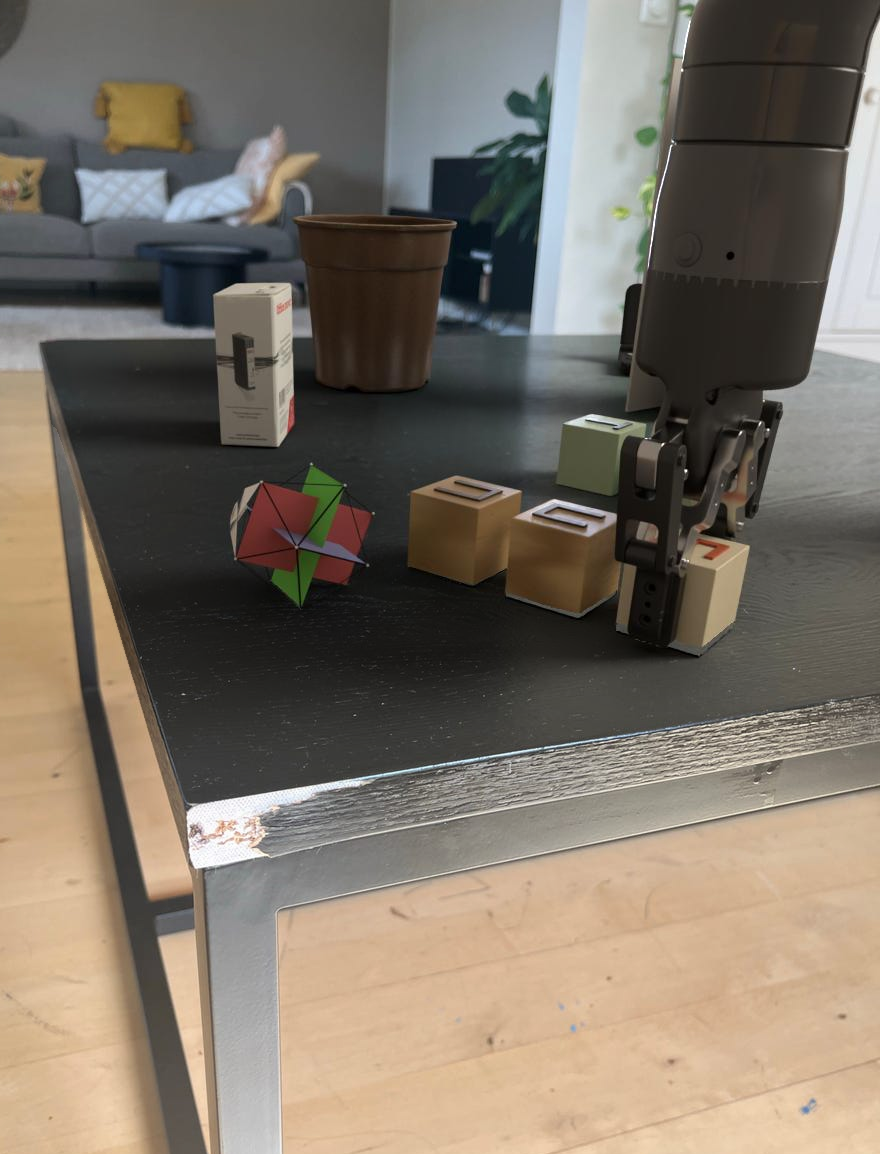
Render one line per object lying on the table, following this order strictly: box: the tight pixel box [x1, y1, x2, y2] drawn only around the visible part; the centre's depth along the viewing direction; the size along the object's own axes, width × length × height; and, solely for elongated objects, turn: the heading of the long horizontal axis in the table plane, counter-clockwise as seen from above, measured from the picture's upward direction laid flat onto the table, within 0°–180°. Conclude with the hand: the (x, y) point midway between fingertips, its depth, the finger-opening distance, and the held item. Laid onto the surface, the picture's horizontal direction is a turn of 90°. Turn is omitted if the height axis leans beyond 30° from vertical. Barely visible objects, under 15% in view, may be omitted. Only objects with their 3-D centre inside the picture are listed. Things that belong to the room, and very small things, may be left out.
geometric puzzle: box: [229, 462, 376, 609], centre depth 51 cm, size 7×7×8 cm
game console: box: [617, 282, 642, 375], centre depth 117 cm, size 16×14×9 cm
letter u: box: [504, 498, 622, 613], centre depth 52 cm, size 4×4×5 cm
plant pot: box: [292, 214, 458, 394], centre depth 102 cm, size 16×16×16 cm
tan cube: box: [407, 475, 523, 584], centre depth 56 cm, size 4×4×5 cm
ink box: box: [212, 282, 295, 448], centre depth 80 cm, size 8×5×12 cm, turn 177°
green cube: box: [555, 413, 647, 497], centre depth 72 cm, size 4×4×5 cm
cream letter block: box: [615, 528, 751, 647], centre depth 49 cm, size 4×4×5 cm
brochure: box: [624, 57, 683, 413], centre depth 92 cm, size 14×6×30 cm, turn 130°
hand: (675, 620), depth 50 cm, fingers open, 5 cm apart
